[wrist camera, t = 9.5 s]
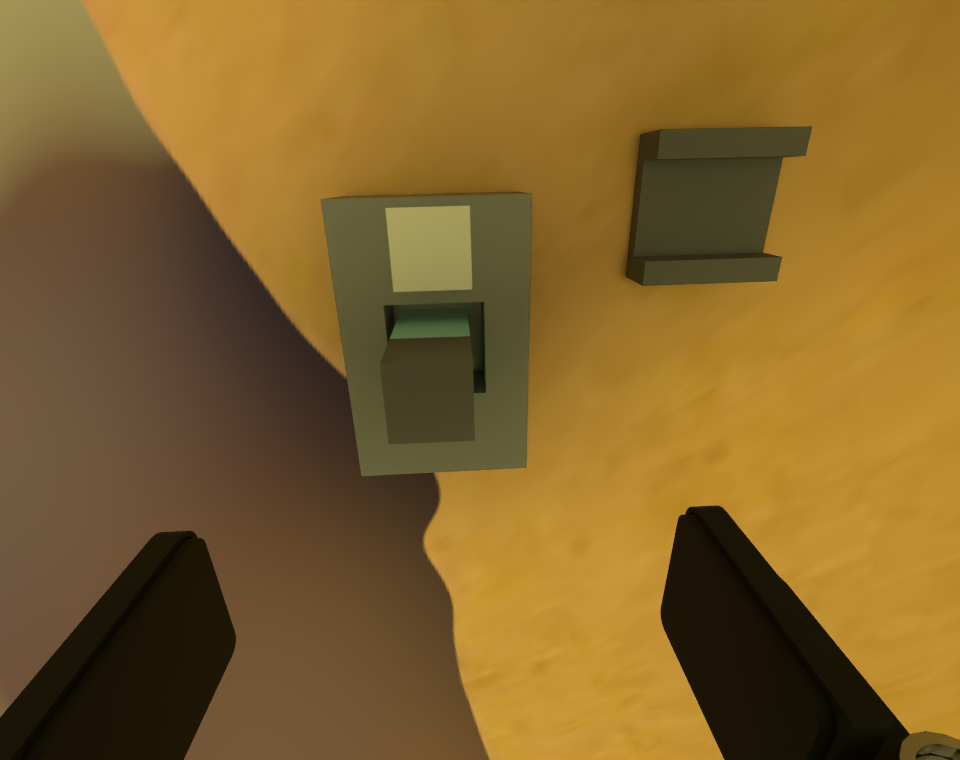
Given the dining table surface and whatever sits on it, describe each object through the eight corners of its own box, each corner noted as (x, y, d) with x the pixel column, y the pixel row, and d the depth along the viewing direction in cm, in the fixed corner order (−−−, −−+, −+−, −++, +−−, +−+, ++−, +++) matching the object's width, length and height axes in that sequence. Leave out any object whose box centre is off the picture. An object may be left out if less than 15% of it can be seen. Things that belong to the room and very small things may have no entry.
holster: (640, 134, 23) (660, 129, 21) (778, 131, 23) (812, 126, 21) (626, 276, 26) (642, 285, 24) (749, 272, 26) (776, 281, 24)
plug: (401, 309, 25) (379, 363, 17) (466, 307, 25) (472, 360, 18) (406, 370, 26) (388, 444, 19) (468, 368, 26) (475, 440, 19)
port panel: (341, 196, 23) (319, 199, 19) (519, 191, 24) (532, 194, 20) (373, 438, 29) (360, 478, 25) (516, 431, 29) (527, 469, 25)
